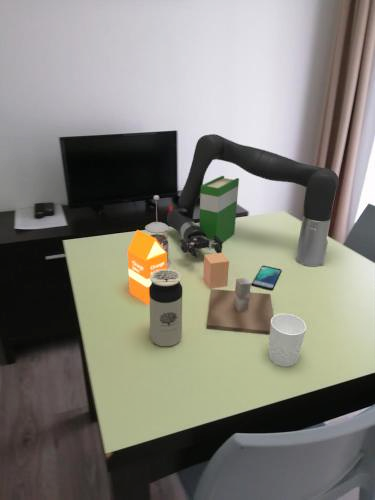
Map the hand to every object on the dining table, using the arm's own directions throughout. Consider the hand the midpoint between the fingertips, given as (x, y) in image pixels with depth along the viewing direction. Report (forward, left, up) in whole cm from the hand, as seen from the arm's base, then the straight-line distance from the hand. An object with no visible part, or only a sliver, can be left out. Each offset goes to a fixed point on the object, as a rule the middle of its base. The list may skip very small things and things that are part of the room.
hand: (208, 253), depth 121 cm
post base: (-11, +22, -7) cm, 25 cm away
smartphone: (-20, +1, -8) cm, 22 cm away
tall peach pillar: (-3, +7, -7) cm, 10 cm away
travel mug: (+8, +36, -7) cm, 37 cm away
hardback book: (-2, -28, -7) cm, 29 cm away
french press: (+18, -4, -7) cm, 20 cm away
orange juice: (+17, +17, -7) cm, 25 cm away
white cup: (-21, +39, -7) cm, 45 cm away
